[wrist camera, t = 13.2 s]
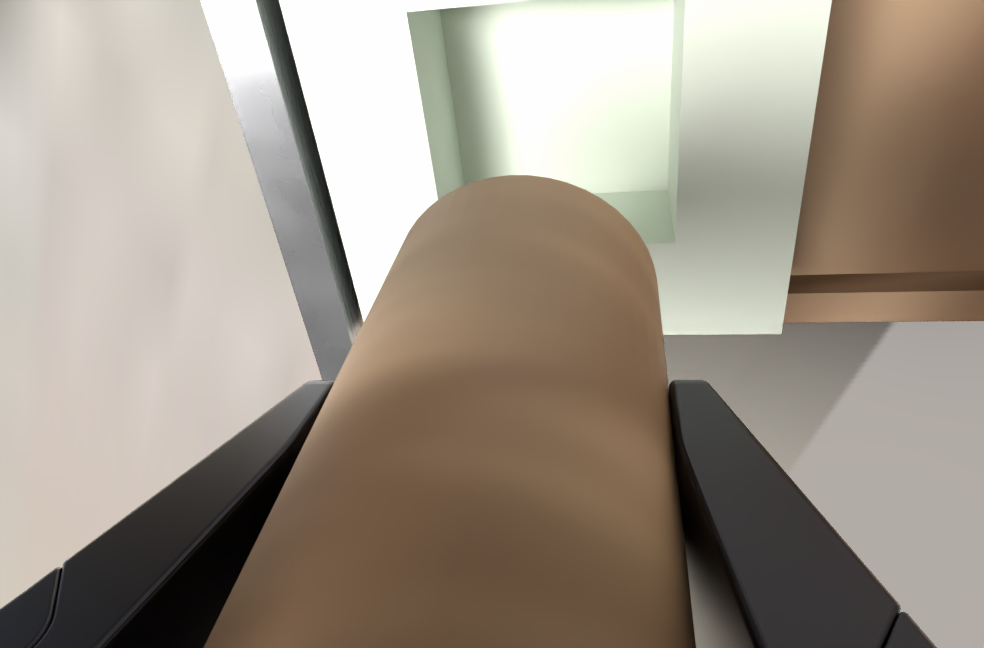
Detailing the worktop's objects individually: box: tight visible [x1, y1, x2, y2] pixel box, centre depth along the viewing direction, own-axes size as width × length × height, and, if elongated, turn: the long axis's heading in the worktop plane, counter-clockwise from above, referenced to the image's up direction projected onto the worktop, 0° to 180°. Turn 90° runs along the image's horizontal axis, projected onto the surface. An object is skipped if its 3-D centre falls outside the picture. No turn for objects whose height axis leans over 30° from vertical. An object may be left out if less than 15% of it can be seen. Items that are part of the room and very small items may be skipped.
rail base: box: [200, 0, 984, 381], centre depth 16 cm, size 24×14×5 cm, turn 96°
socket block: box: [279, 0, 832, 335], centre depth 17 cm, size 11×11×3 cm
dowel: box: [204, 175, 696, 648], centre depth 7 cm, size 4×4×8 cm
